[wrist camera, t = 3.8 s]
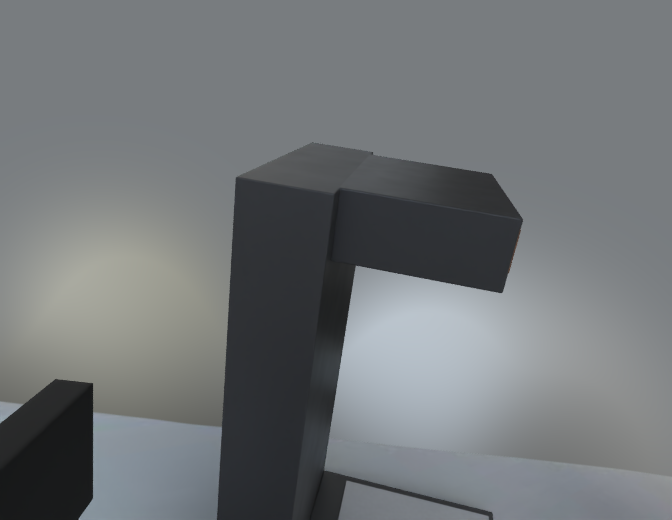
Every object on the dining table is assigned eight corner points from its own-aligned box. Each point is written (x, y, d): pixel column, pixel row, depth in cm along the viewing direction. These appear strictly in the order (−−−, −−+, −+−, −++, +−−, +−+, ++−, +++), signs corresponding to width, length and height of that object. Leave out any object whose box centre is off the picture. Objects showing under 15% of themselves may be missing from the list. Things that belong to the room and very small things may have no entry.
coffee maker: (488, 524, 48) (600, 188, 35) (513, 721, 33) (721, 260, 21) (275, 470, 50) (311, 142, 38) (210, 629, 36) (235, 176, 23)
